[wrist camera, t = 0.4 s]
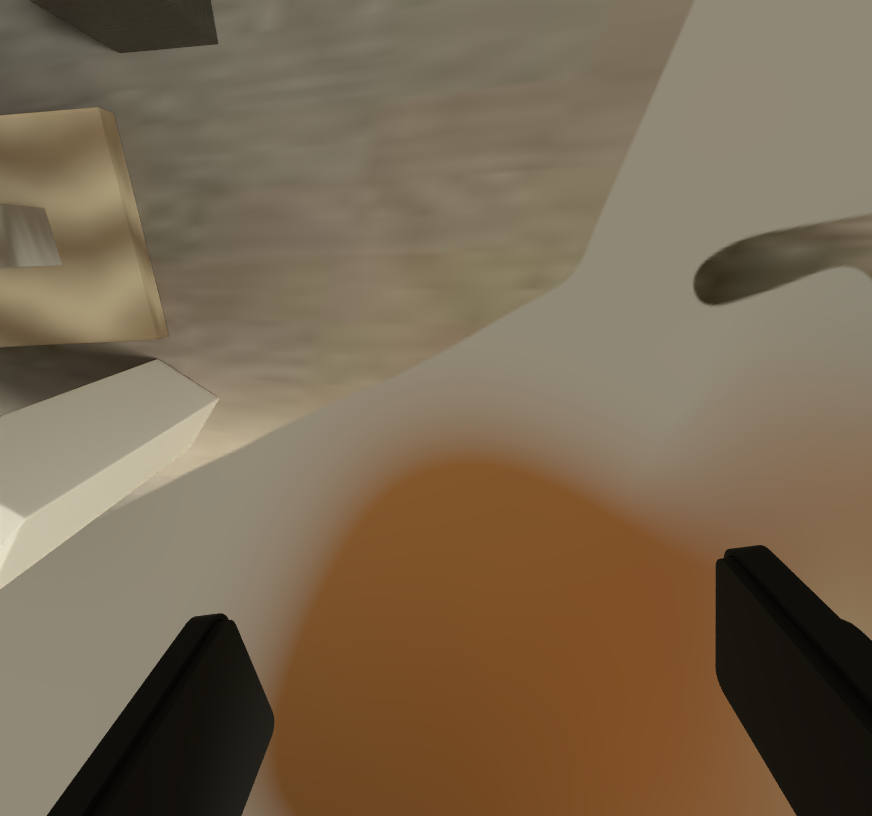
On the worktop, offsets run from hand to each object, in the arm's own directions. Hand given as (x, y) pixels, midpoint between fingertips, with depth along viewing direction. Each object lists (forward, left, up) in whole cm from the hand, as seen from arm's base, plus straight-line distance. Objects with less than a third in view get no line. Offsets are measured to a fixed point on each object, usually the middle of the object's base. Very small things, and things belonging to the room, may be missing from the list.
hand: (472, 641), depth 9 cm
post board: (-10, -32, -30) cm, 45 cm away
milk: (+4, -25, -30) cm, 39 cm away
